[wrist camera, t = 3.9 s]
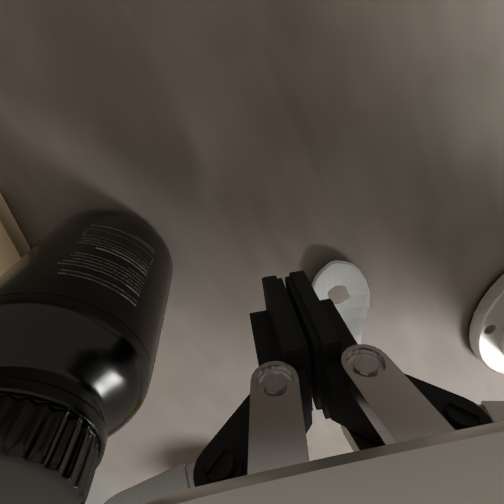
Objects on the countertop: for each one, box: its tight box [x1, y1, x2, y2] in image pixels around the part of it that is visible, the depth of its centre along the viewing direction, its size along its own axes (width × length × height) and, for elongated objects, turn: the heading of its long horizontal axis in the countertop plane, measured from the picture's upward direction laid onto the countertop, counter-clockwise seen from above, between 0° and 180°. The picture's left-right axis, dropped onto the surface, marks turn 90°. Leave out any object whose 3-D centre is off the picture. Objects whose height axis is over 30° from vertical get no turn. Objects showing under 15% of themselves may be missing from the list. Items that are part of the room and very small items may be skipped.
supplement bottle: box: [0, 210, 172, 504], centre depth 13 cm, size 7×7×12 cm
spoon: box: [312, 260, 370, 344], centre depth 24 cm, size 4×21×2 cm, turn 20°
